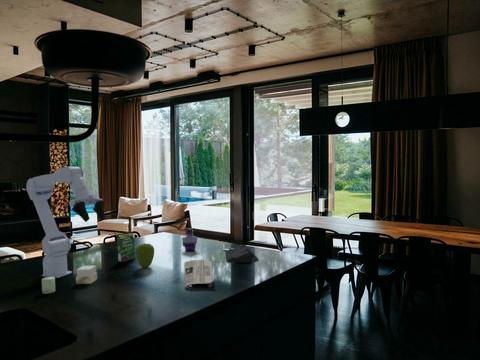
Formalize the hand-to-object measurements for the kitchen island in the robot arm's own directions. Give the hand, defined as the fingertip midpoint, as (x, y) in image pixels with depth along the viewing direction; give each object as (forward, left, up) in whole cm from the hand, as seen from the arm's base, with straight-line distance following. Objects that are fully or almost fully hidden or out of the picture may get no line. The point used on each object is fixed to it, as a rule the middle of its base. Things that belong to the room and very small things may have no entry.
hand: (95, 219), depth 143 cm
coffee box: (-14, +34, -26) cm, 45 cm away
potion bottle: (+8, +60, -26) cm, 66 cm away
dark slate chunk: (+38, +56, -27) cm, 73 cm away
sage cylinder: (-14, -11, -26) cm, 32 cm away
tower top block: (-8, +3, -23) cm, 25 cm away
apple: (+3, +26, -26) cm, 37 cm away
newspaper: (+32, +24, -27) cm, 48 cm away
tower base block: (-8, +3, -26) cm, 28 cm away
